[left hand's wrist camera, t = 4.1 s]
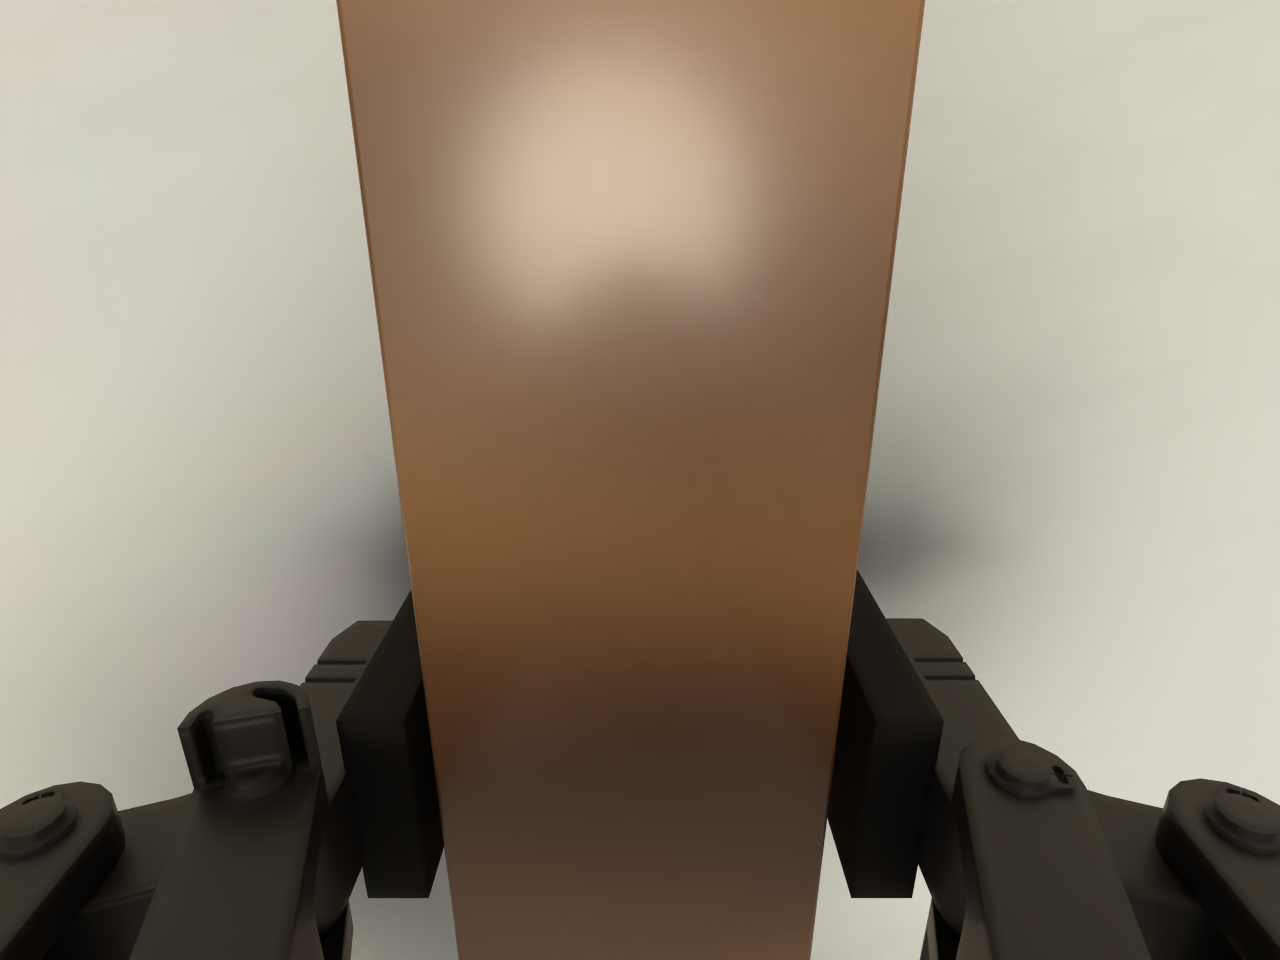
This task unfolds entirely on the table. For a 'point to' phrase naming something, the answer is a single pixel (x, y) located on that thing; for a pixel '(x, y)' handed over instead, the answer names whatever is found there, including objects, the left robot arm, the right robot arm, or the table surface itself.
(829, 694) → the post
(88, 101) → the table surface
